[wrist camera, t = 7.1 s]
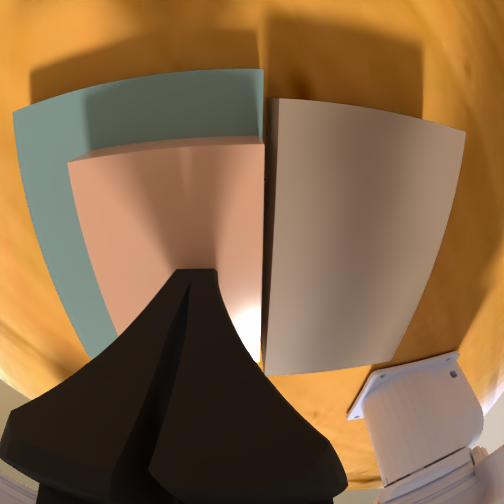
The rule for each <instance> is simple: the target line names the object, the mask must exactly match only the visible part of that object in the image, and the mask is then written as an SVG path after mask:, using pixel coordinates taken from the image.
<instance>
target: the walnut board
mask: <svg viewBox="0 0 504 504" xmlns="http://www.w3.org/2000/svg"><path fill="white" fill-rule="evenodd" d="M465 138H466V132H464V131H461V130H458V129H455V128H452V127H449V126H445V125H442V124H438V123H435V122H431V121H427V120H424V119H420V118H416V117H411V116H407V115H403V114H398V113H393V112H389V111H383V110H378V109H373V108H367V107H361V106H354V105H347V104H340V103H332V102H323V101H312V100H300V99H285V98H267V134H266V172H265V205H264V235H263V262H262V292H261V326H260V342H261V351H262V360H263V370H264V374H265V375H266V376H282V375H294V374H305V373H315V372H324V371H332V370H339V369H346V368H353V367H360V366H366V365H372V364H377V363H383V362H388V361H391V359H392V357H393V356H394V354H395V352H396V350H397V348H398V346H399V344H400V342H401V340H402V338H403V336H404V334H405V332H406V330H407V328H408V326H409V324H410V322H411V319H412V317H413V315H414V313H415V311H416V308H417V306H418V304H419V301H420V299H421V297H422V294H423V292H424V289H425V287H426V284H427V282H428V279H429V277H430V274H431V271H432V269H433V266H434V263H435V260H436V257H437V254H438V251H439V248H440V245H441V242H442V239H443V236H444V233H445V229H446V226H447V222H448V219H449V215H450V212H451V208H452V204H453V200H454V196H455V192H456V187H457V183H458V178H459V173H460V168H461V163H462V157H463V151H464V145H465Z"/></svg>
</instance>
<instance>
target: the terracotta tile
mask: <svg viewBox="0 0 504 504" xmlns="http://www.w3.org/2000/svg"><path fill="white" fill-rule="evenodd" d="M264 150H265V144H264V143H263V141H262V139H261V138H260V136H216V137H197V138H182V139H170V140H160V141H150V142H142V143H134V144H126V145H119V146H113V147H106V148H100V149H94V150H91V151H89V152H87V153H85V154H83V155H81V156H79V157H77V158H75V159H73V160H71V161H69V162H67V164H68V170H69V176H70V181H71V186H72V191H73V196H74V201H75V205H76V210H77V214H78V218H79V222H80V226H81V230H82V233H83V237H84V241H85V244H86V248H87V251H88V254H89V258H90V261H91V264H92V267H93V270H94V273H95V276H96V279H97V282H98V285H99V288H100V291H101V294H102V296H103V299H104V302H105V304H106V307H107V310H108V312H109V315H110V317H111V320H112V322H113V324H114V327H115V329H116V332H117V334H118V336H119V335H120V334H121V333H122V332H123V331H124V330H125V329H126V328H127V327H128V326H129V325H130V324H131V323H132V322H133V321H134V320H135V318H136V317H137V316H138V315H139V314H140V313H141V312H142V311H143V310H144V308H145V307H146V306H147V305H148V303H149V302H150V301H151V300H152V299H153V297H154V296H155V295H156V294H157V293H158V291H159V290H160V289H161V288H162V286H163V285H164V284H165V282H166V281H167V280H168V279H169V277H170V276H171V275H172V273H173V272H174V271H175V270H176V269H209V268H214V269H215V270H216V271H218V284H219V288H220V292H221V295H222V298H223V301H224V304H225V306H226V309H227V311H228V314H229V316H230V318H231V320H232V323H233V325H234V326H235V328H236V330H237V332H238V334H239V336H240V338H241V340H242V341H243V343H244V345H245V346H246V348H247V350H248V351H249V353H250V354H251V356H252V357H253V359H254V360H255V362H259V356H260V326H261V292H262V253H263V208H264Z"/></svg>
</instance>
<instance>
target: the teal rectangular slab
mask: <svg viewBox="0 0 504 504" xmlns="http://www.w3.org/2000/svg"><path fill="white" fill-rule="evenodd" d="M263 79H264V69H208V70H192V71H181V72H171V73H162V74H155V75H147V76H141V77H135V78H129V79H124V80H118V81H113V82H109V83H104V84H100V85H95V86H91V87H87V88H83V89H80V90H76V91H72V92H69V93H65V94H62V95H59V96H56V97H53V98H50V99H47V100H44V101H41V102H38V103H35V104H32V105H30V106H27V107H24V108H22V109H19V110H17V111H14V112H13V122H14V132H15V141H16V148H17V155H18V161H19V167H20V172H21V177H22V182H23V187H24V191H25V196H26V200H27V204H28V208H29V212H30V216H31V219H32V223H33V226H34V230H35V233H36V236H37V239H38V242H39V245H40V248H41V251H42V254H43V257H44V260H45V263H46V265H47V268H48V271H49V273H50V276H51V278H52V281H53V283H54V286H55V288H56V291H57V293H58V295H59V298H60V300H61V302H62V305H63V307H64V309H65V311H66V313H67V315H68V317H69V320H70V322H71V324H72V326H73V328H74V330H75V332H76V334H77V336H78V338H79V339H80V341H81V343H82V345H83V347H84V349H85V351H86V352H87V354H88V356H89V358H93V359H94V358H95V357H96V356H98V355H99V354H100V353H101V352H102V351H104V350H105V349H106V348H107V347H108V346H109V345H110V344H111V343H112V342H113V341H114V340H115V339H116V338H117V337H118V334H117V332H116V329H115V327H114V324H113V322H112V320H111V317H110V315H109V312H108V310H107V307H106V304H105V302H104V299H103V296H102V294H101V291H100V288H99V285H98V282H97V279H96V276H95V273H94V270H93V267H92V264H91V261H90V258H89V254H88V251H87V248H86V244H85V241H84V237H83V233H82V230H81V226H80V222H79V218H78V214H77V210H76V205H75V201H74V196H73V191H72V186H71V181H70V176H69V170H68V164H67V162H69V161H71V160H73V159H75V158H77V157H79V156H81V155H83V154H85V153H87V152H89V151H91V150H94V149H100V148H106V147H113V146H119V145H126V144H134V143H142V142H150V141H160V140H170V139H182V138H197V137H216V136H260V138H261V139H262V131H263Z"/></svg>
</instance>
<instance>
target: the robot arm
mask: <svg viewBox="0 0 504 504" xmlns="http://www.w3.org/2000/svg"><path fill="white" fill-rule="evenodd" d="M459 355H460V353H459V352H458V351H453V352H450V353H447V354H443V355H440V356H436V357H432V358H429V359H425V360H421V361H417V362H412V363H408V364H404V365H399V366H395V367H390V368H385V369H380V370H376V371H374V372H372V373H371V374H370V376H369V378H368V380H367V381H366V383H365V385H364V387H363V389H362V390H361V392H360V394H359V396H358V397H357V399H356V401H355V403H354V404H353V406H352V408H351V409H350V411H349V413H348V414H347V416H346V418H347V420H354V419H358V418H363V417H364V420H365V423H366V426H367V430H368V433H369V436H370V440H371V443H372V446H373V450H374V453H375V457H376V460H377V464H378V468H379V471H380V475H381V479H382V482H383V486H384V489H381V490H379V491H377V493H378V497H377V498H376V499H375V501H374V502H373V504H504V445H503V446H501V447H500V448H499V449H497V450H496V451H494V452H493V453H491V454H490V455H488V452H487V450H486V448H480V447H479V446H477V447H475V448H474V449H472V450H471V448H470V447H471V446H473V445H474V444H475V443H476V442H477V440H478V439H479V437H480V435H481V433H482V430H483V421H484V420H483V412H482V408H481V405H480V403H479V401H478V399H477V397H476V395H475V394H474V392H473V390H472V388H471V386H470V384H469V382H468V381H467V379H466V377H465V375H464V373H463V372H462V370H461V368H460V366H459V365H458V363H457V361H456V360H457V358H458V357H459ZM0 458H1V459H2V460H3V461H4V462H6V463H7V464H9V465H10V466H12V467H13V468H15V469H16V470H18V471H20V472H21V473H23V474H25V475H26V476H28V477H30V478H31V479H33V480H35V481H37V482H39V483H40V484H39V489H38V491H36V490H33V489H32V488H30V487H28V486H26V485H24V484H22V483H20V482H18V481H16V480H14V479H13V478H11V477H9V476H7V475H5V474H4V473H2V472H0V504H334V503H333V497H335V496H337V495H338V494H340V493H341V492H343V491H344V490H345V489H346V488H347V486H348V482H347V477H346V474H345V471H344V468H343V466H342V463H341V461H340V459H339V457H338V455H337V453H336V452H335V450H334V448H333V446H332V445H331V443H330V441H329V440H328V439H327V438H326V437H324V436H323V435H322V434H321V433H320V432H319V431H317V430H316V429H315V428H314V427H313V426H312V425H311V424H310V423H309V422H308V421H306V420H305V419H304V418H303V417H302V416H301V415H300V414H299V413H298V412H297V411H296V410H295V409H294V408H293V407H292V406H291V405H290V404H289V402H288V401H287V400H286V399H285V398H284V397H283V396H282V395H281V394H280V392H279V391H278V390H277V389H276V388H275V386H274V385H273V384H272V383H271V382H270V380H269V379H268V378H267V377H266V375H265V374H264V373H263V372H262V370H261V369H260V367H259V366H258V365H257V363H256V362H255V360H254V359H253V357H252V356H251V354H250V353H249V351H248V350H247V348H246V346H245V345H244V343H243V341H242V340H241V338H240V336H239V334H238V332H237V330H236V328H235V326H234V325H233V323H232V320H231V318H230V316H229V314H228V311H227V309H226V306H225V304H224V301H223V298H222V295H221V292H220V288H219V284H218V271H216V270H215V269H214V268H209V269H176V270H175V271H174V272H173V273H172V275H171V276H170V277H169V279H168V280H167V281H166V282H165V284H164V285H163V286H162V288H161V289H160V290H159V291H158V293H157V294H156V295H155V296H154V297H153V299H152V300H151V301H150V302H149V303H148V305H147V306H146V307H145V308H144V310H143V311H142V312H141V313H140V314H139V315H138V316H137V317H136V318H135V320H134V321H133V322H132V323H131V324H130V325H129V326H128V327H127V328H126V329H125V330H124V331H123V332H122V333H121V334H120V335H119V336H118V337H117V338H116V339H115V340H114V341H113V342H112V343H111V344H110V345H109V346H108V347H107V348H106V349H105V350H104V351H102V352H101V353H100V354H99V355H98V356H96V357H95V358H94V359H93V360H91V361H90V362H89V363H87V364H86V365H85V366H84V367H82V368H81V369H80V370H79V371H77V372H76V373H75V374H73V375H72V376H70V377H69V378H68V379H66V380H65V381H63V382H62V383H60V384H59V385H57V386H56V387H54V388H52V389H51V390H49V391H48V392H46V393H44V394H43V395H41V396H39V397H37V398H35V399H33V400H31V401H30V402H28V403H26V404H24V405H22V406H20V407H18V408H16V409H14V410H12V411H11V413H10V415H9V418H8V420H7V423H6V426H5V429H4V432H3V435H2V438H1V441H0Z"/></svg>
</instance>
